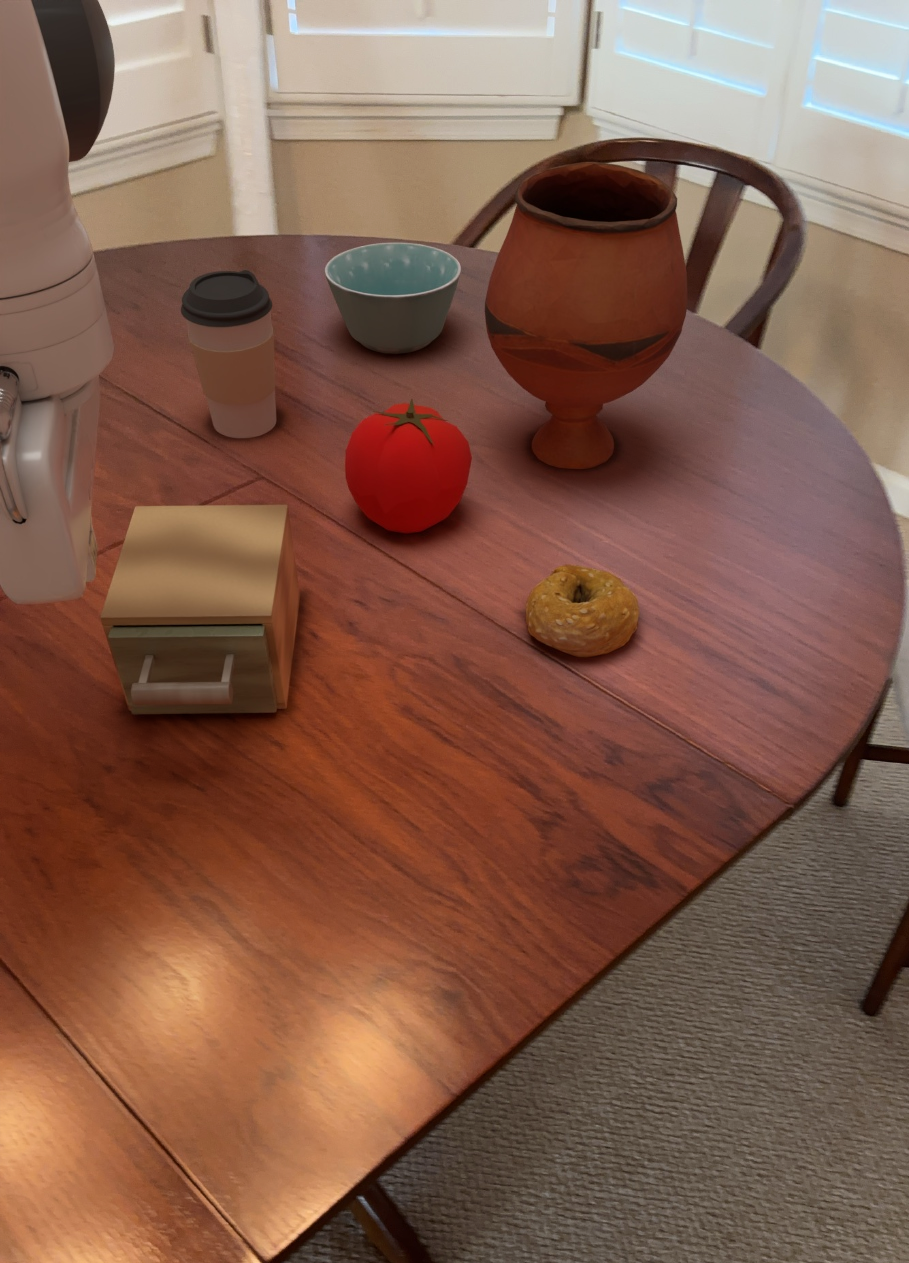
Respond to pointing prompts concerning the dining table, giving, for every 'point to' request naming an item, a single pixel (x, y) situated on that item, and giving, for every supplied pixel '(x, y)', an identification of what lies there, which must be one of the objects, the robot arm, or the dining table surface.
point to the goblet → (586, 298)
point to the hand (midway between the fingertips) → (82, 567)
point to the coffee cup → (233, 350)
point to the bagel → (582, 611)
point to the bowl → (393, 293)
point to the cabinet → (210, 575)
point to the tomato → (407, 467)
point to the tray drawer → (195, 668)
